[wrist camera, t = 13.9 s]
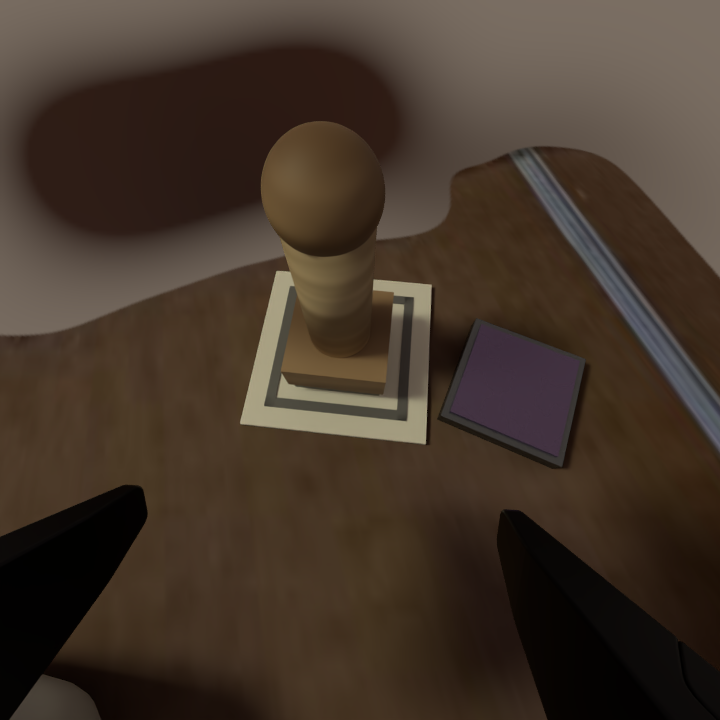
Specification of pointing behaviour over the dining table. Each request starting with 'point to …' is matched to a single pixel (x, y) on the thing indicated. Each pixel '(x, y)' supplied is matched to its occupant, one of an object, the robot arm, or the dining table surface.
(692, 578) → the dining table surface
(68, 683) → the donut
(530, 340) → the ink pad
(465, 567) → the dining table surface
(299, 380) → the stamp
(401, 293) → the print card
